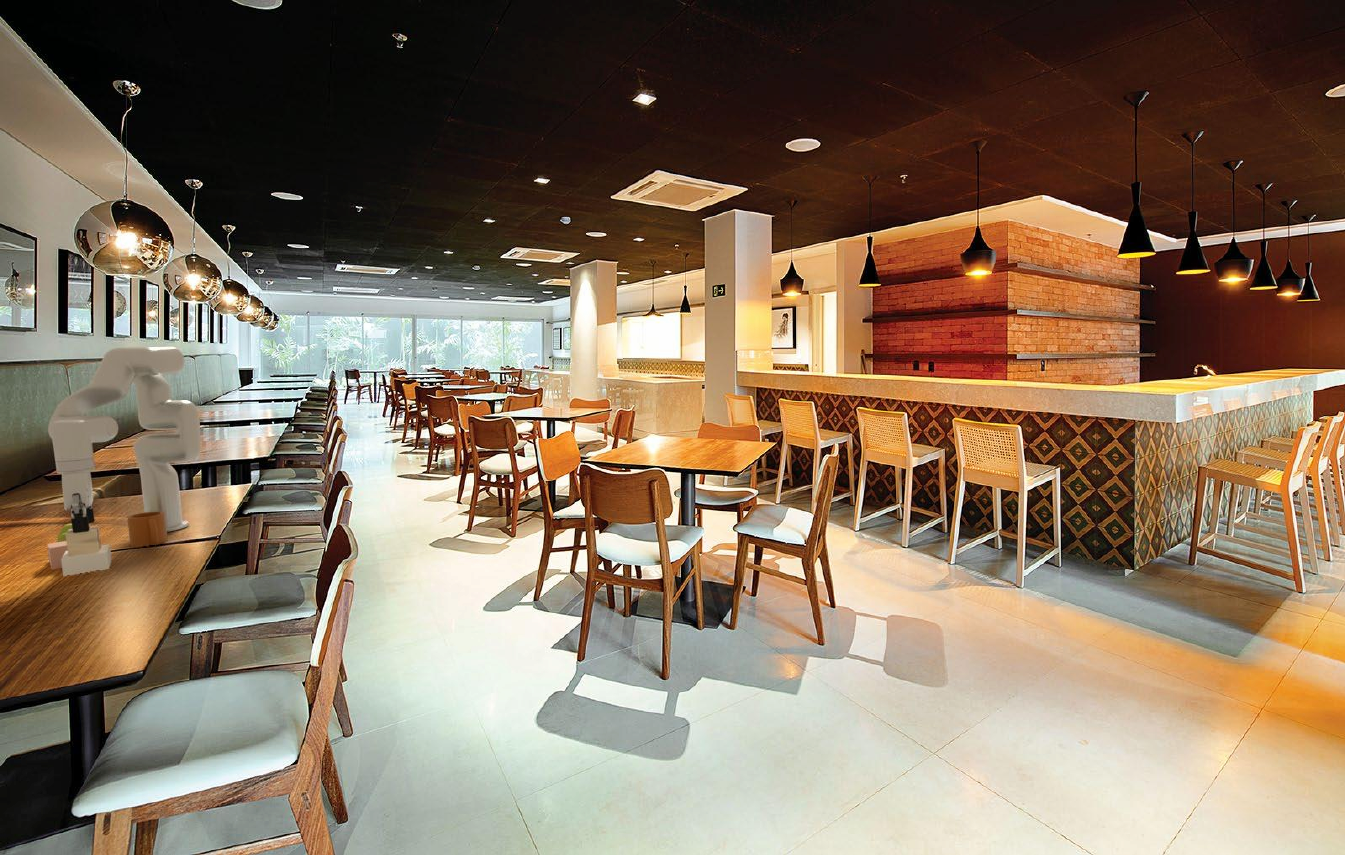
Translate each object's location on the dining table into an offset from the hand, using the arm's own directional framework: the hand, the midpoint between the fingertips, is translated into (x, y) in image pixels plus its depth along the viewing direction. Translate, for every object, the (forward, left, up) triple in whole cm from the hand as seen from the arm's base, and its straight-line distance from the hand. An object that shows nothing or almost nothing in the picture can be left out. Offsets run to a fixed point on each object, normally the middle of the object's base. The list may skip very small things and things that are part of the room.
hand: (84, 527), depth 172 cm
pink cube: (-7, -6, -11) cm, 15 cm away
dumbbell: (-22, -6, -12) cm, 26 cm away
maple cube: (0, 0, -7) cm, 7 cm away
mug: (-17, +12, -11) cm, 24 cm away
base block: (+1, 0, -12) cm, 11 cm away
